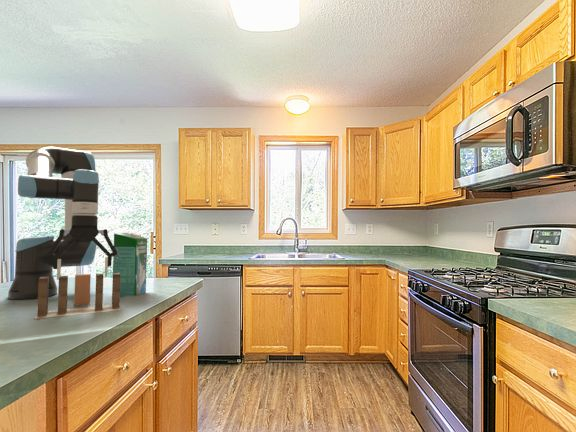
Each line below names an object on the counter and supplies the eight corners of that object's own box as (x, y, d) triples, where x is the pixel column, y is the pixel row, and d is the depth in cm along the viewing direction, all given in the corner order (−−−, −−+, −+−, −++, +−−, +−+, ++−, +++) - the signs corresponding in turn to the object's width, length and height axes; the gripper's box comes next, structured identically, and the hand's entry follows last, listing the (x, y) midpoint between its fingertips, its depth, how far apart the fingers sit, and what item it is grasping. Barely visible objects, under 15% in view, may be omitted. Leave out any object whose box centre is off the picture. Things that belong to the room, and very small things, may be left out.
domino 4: (111, 306, 107) (112, 272, 107) (118, 305, 108) (119, 272, 108) (112, 309, 103) (113, 274, 104) (119, 308, 104) (120, 274, 105)
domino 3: (95, 307, 105) (96, 273, 105) (102, 307, 106) (103, 273, 106) (95, 311, 101) (96, 275, 101) (102, 310, 102) (103, 275, 102)
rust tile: (74, 308, 107) (75, 275, 108) (74, 307, 109) (75, 274, 109) (89, 307, 109) (90, 274, 110) (89, 305, 111) (90, 273, 112)
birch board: (38, 315, 99) (39, 311, 99) (119, 306, 110) (119, 303, 110) (34, 322, 91) (34, 319, 91) (121, 313, 102) (121, 309, 102)
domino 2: (58, 311, 100) (60, 275, 100) (66, 310, 101) (67, 275, 101) (57, 315, 96) (58, 277, 96) (65, 314, 97) (66, 277, 97)
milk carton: (135, 298, 123) (137, 233, 124) (111, 297, 123) (113, 232, 124) (145, 293, 132) (147, 232, 133) (124, 293, 132) (125, 232, 133)
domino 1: (39, 313, 97) (40, 277, 98) (47, 312, 98) (49, 276, 99) (37, 317, 93) (38, 279, 94) (45, 316, 94) (47, 278, 95)
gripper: (37, 213, 101) (35, 281, 100) (126, 215, 113) (124, 276, 112) (41, 214, 107) (38, 278, 106) (124, 216, 120) (123, 273, 119)
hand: (83, 277), depth 109 cm, fingers open, 13 cm apart
